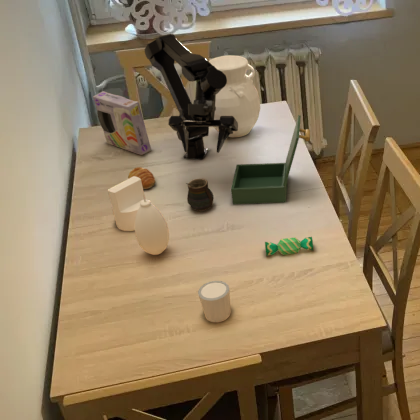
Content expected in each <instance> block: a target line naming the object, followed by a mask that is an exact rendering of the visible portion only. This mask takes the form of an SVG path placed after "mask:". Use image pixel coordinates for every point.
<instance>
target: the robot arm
mask: <svg viewBox="0 0 420 420" xmlns="http://www.w3.org/2000/svg"><path fill="white" fill-rule="evenodd" d="M144 54H145V57H146V58H147V60H149V63H150V64H151V66H152V67H153V68H155V69H156V70H158V71H159V72H160V74H161V77H162V78H163V80H164V82H165V84H166V87H167V89H168V92H169V93H170V95H171V98H172V100H173V102H174V104H175V106H176V108H177V111H178V113H179V114H178V115H171V116H170V117H169V118H168V124H167V125H168V126H169V127H170V128H171V129H172V130H173V131H175V132H176V135H177V139H178V140H179V141H180V142H181V145H182V148H183V151H184V155H183V159H190V160H203V159H204V158H205V157H206V155H207V154H208V152H209V151H210V149H209V148H206V147H205V143H204V138H206V137H208V136H209V132H210V128H214V127H219V132H218V136H217V142H216V153H218V154H219V153H220V151H221V150H222V148H223V145H224V144H225V142H226V140H227V139H228V138H229V137H228V136H229V135H230V134H233V131H238V122H237V121H236V119H235V118H234V117H233V116H221V117H220V120H214V116H215V110H216V107H215V100H216V94H218V93H219V92H220V91H221V90H222V89H223V87H224V86H225V85H226V83H227V78H226V75H225V74H224V73H223V72H222V71H220V70H217V68H215V66H213V65H212V64H211V63H210V62H209V61H210V60H208V59H207V58H206V57H205V56H202V55H201V54H197V53H193V52H191V51H190V50H189V49H188V48H187V47H185V45H183V44H182V42H180V41H179V40H178V39H177V38H176V36H175V34H174V33H168V34H167V33H166V34H163V35H159V36H158V37H156V38H155V40H152V41H151V42H149V43H147V44H146V45H145V48H144ZM175 62H176V63H177V64H178V65H179V66H180V67H181V74H182V76H183V78H185V79H186V80H187V81H188V82H196V81H197V82H196V85H195V98H194V100H193V103H192V101H191V99H190V96H189V94H188V91H187V89H186V88H185V87H186V86H185V85H184V83H183V81H182V78H181V76H180V74H179V72H178V70H177V67H176V65H175Z"/></svg>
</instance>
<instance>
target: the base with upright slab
mask: <svg viewBox="0 0 420 420" xmlns="http://www.w3.org/2000/svg"><path fill="white" fill-rule="evenodd" d="M107 192H108V193H107V194H108V196H109V200H110V204H111V209H112V214H113V216H114V220H115V224H116V227H117V229H119V230H120V231H123V232H132V231H133V232H135V218H136V214H137V211H138V209H139V207H140V202H141V201H143V200H144V198H143V193H144V194H145V192H144V189H143V186H142V182H141V179H140V178H138V177H135V176H133V177H131V178H129V179H128V178H127V179H125V180H124V181H122V182H119V183H117V184H116V185H114V186H112V187H110V188H108V189H107Z"/></svg>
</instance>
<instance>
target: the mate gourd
mask: <svg viewBox="0 0 420 420" xmlns="http://www.w3.org/2000/svg"><path fill="white" fill-rule="evenodd" d="M185 184H186V185H187V189H188V191H187V196H186V201H187V204H188V205H189V206H190V208H191V209H192V210H195V211H197V212H205V211H207V210H210V209H211V208H212V207H213V204H214V199H215V197H214V193H213V191H212V190H211V189H210V187H209V182H208V180H207V179H206V178H194V179H192V180H190V181H189V182H187V183H185Z"/></svg>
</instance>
